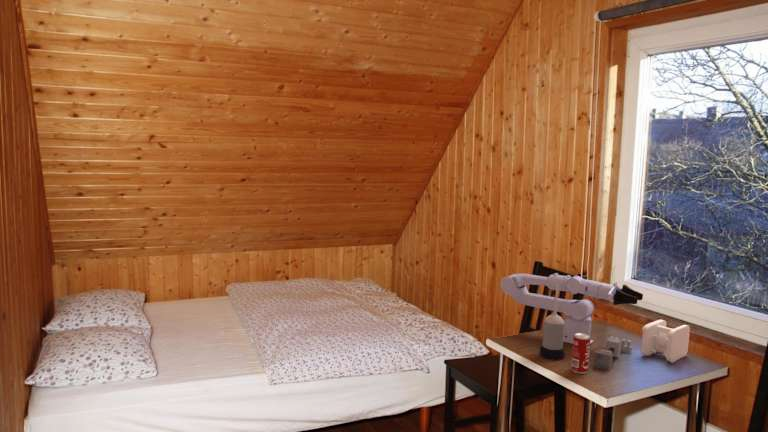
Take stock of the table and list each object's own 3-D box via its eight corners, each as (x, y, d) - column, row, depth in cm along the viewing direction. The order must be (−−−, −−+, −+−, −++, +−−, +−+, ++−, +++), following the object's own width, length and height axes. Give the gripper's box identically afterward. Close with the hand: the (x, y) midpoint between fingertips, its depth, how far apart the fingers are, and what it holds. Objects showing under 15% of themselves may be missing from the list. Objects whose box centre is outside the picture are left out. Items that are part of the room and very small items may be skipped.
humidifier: (569, 357, 203) (574, 286, 200) (552, 361, 199) (557, 289, 196) (551, 350, 210) (556, 281, 207) (534, 353, 206) (539, 283, 203)
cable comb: (608, 347, 216) (609, 335, 215) (631, 352, 211) (632, 340, 210) (607, 348, 214) (608, 337, 213) (630, 353, 209) (631, 342, 209)
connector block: (596, 364, 198) (597, 349, 197) (611, 367, 195) (612, 353, 194) (593, 366, 195) (594, 352, 195) (609, 370, 192) (610, 355, 192)
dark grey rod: (614, 345, 213) (615, 336, 213) (624, 348, 211) (625, 338, 211) (597, 362, 196) (598, 351, 196) (608, 364, 194) (609, 354, 194)
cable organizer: (669, 365, 199) (672, 332, 197) (638, 356, 207) (641, 324, 205) (687, 356, 209) (691, 324, 207) (658, 348, 217) (660, 317, 215)
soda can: (582, 367, 194) (585, 332, 193) (590, 373, 189) (593, 337, 188) (568, 368, 193) (570, 332, 192) (575, 374, 188) (578, 338, 187)
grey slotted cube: (608, 351, 208) (609, 337, 207) (620, 354, 206) (621, 340, 205) (605, 354, 205) (606, 340, 204) (617, 357, 202) (618, 343, 202)
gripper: (595, 282, 207) (636, 291, 199) (607, 276, 219) (646, 284, 211) (593, 302, 208) (633, 311, 200) (604, 294, 220) (643, 303, 212)
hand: (639, 299), depth 206 cm, fingers open, 7 cm apart
